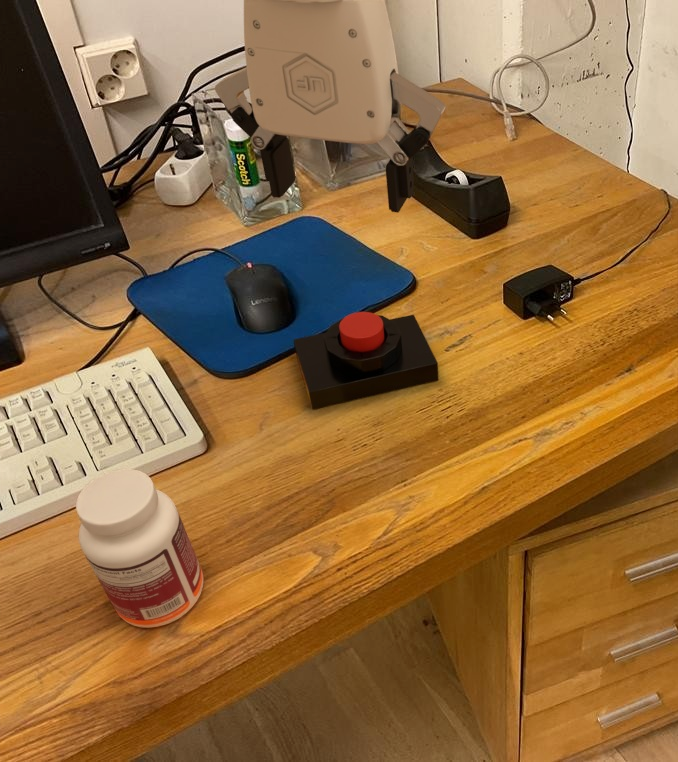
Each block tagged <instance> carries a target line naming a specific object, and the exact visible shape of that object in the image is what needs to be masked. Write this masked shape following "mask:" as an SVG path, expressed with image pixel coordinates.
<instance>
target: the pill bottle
mask: <svg viewBox="0 0 678 762" xmlns="http://www.w3.org/2000/svg"><path fill="white" fill-rule="evenodd" d="M75 510H76V513H77V516H78V518H79V521H80V523H81V524H80V526H79V530H78V542H79V543H78V544H79V546H80V548H81V551H82V552H83V554H84V557H85V558H86V560H87V562H88V563H89V565H90V567H91V569H92V571H93V572H94V574H95V577H96V578H97V580H98V582H99V583H100V586H101V587H102V589H103V590H104V592H105V594H106V596H107V597H108V599H109V601H110V603H111V605H112V607H113V608H114V610H115V612H116V613H117V614H118V616H119V617H120V618H121V619H122V620H123V621H124V622H126V623H127V624H130V625H131V626H134V627H139V628H157V627H161V626H166V625H168V624H171V623H173V622H175V621H177V620H178V619H181V618H182V617H183V616H185V615H186V614H187V613H188V612H189V611H190V610H191V609H192V608H193V606H194V605H195V604H196V603H197V602H198V600H199V598H200V596H201V594H202V591H203V587H204V573H203V569H202V567H201V564H200V562H199V559H198V557H197V555H196V552H195V550H194V547H193V545H192V543H191V539H190V537H189V534H188V533H187V530H186V528H185V525H184V523H183V520H182V518H181V515H180V512H179V511H178V508H177V506H176V504H175V502H174V500H173V499H172V498H171V497H170V496H169V495H168V494H166V493H165V492H163V491H161V490H159V489H157V488H156V486H155V483H154V482H153V480H152V478H151V477H150V476H149V475H148V474H146V473H145V472H144V471H141V470H137V469H133V468H122V469H120V468H119V469H115V470H110V471H106V472H105V473H103V474H100V475H98V476H97V477H95V478H93V479H92V480H90V481H89V482H88V483H87V484H86V485H85V486H84V487H83V488H82V489H81V491H80V492H79V494H78V496H77V498H76V502H75Z"/></svg>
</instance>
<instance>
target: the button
mask: <svg viewBox="0 0 678 762" xmlns="http://www.w3.org/2000/svg"><path fill="white" fill-rule="evenodd" d="M378 315H379V314H376V313H373V312H370V311H357V312H352V313H349V314H348V315H346V316H344V317H345V318H344V317H343V318H344V319H342V318H341V319H342V321H341V322H340V325H339V330H340V336H341V342H342V345H343V346H344V347H345V348H346V349H348V350H350V351H356V352H366V351H370V350H375V349H376V348H378V347H379V346H381V345H382V343H383V341H384V328H383V321H382V319H381V318H380V317H379V316H378Z"/></svg>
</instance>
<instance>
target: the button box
mask: <svg viewBox="0 0 678 762" xmlns="http://www.w3.org/2000/svg"><path fill="white" fill-rule="evenodd" d="M377 315H378V316H379V317H380V318H381V319H382V321H383V328H384V341H383V343H382V345H381V346H379V347H378V348H376V349H375V350H370V351H366V352H356V351H350V350H348V349H346V348H345V347H344V346H343V345H342V342H341V336H340V330H339V325H340V322H341V321H342V319H344V318H345V317H346V316H344V317H343V318H341V319H339V320H338V321H335V323H333V324H331V325H330V326H329V328H328V329H327V331H326V332H322V333H318V334H313V335H308V336H304V337H298V338H295V339H292V342H293V346H294V351H295V352H294V353H295V358H296V360H297V363H298V367H299V371H300V374H301V377H302V380H303V383H304V387H305V390H306V393H307V397H308V400H309V403H310V406H311V410H312V411H313V410H318V409H322V408H327V407H331V406H334V405H339V404H344V403H348V402H353V401H356V400H361V399H365V398H369V397H373V396H377V395H382V394H387V393H391V392H395V391H399V390H403V389H408V388H412V387H415V386H420V385H425V384H428V383H429V384H430V383H433V382H437V381H439V363H438V361H437V359H436V357H435V355H434V353H433V351H432V348H431V347H430V344H429V343H428V341H427V339H426V337H425V334H424V333H423V330H422V329H421V326H420V324H419V322H418V320H417V318H416V317H415V316H416V315H415V314H409V315H404V316H399V317H395V318H390V319H389V318H388V317H386V316H384V315H382V314H380V315H379V314H377Z"/></svg>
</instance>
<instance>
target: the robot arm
mask: <svg viewBox="0 0 678 762" xmlns="http://www.w3.org/2000/svg"><path fill="white" fill-rule="evenodd" d="M243 39H244V40H243V41H244V42H243V43H244V54H245V55H244V56H245V64H246V66H245V67H244V68H241V69H239V70H238V71H236V72H234V73H231V74H230V75H227V76H226V77H224V78H223V79H221V80H220V81H219V82H218V83H216V84H215V86H214V91H215V93H216V95H217V96H218V98H219V99H220V101H221V102H222V104H223V105H224V106H225V108H226V109H227V111H229V112H230V113H231V119H232V121H233V122H234V123H235V125H236V126H238V128H240V129H241V130H242V131H243V132H244V133H245V134H246V135H247V136H249V138H250V142H251V145H252V147H254V148H255V149H257V150H259V151H260V156H261V157H260V158H261V162H262V167H263V173H264V178H265V180H266V182H268V183H269V188H270V193H271V194H270V195H271V197H272V198H277V199H281V197H283V196H284V195H285V194H286V193H287V192H288V190H289V189H290V188H291V187H292V185H293V184H294V183H295V182H296V174H295V168H294V162H293V157H292V156H293V155H292V150H291V143H290V139H289V138H288V137H291V138H292V137H293V138H301V139H302V138H303V139H310V140H319V141H327V142H337V143H346V144H355V145H356V144H358V145H372V144H377V145H378V146H379V147H380V149H381V150H382V151H383V152H384V153H385V154H386V156H387V157H388V158H389V160H388V162H387V163H386V165H385V177H386V190H387V202H388V210H389V211H391V213H397V214H398V213H400V211H401V210H402V209H403V206H404V204H405V203H406V201H407V200H408V199H411V198H412V196H413V195H414V191H415V179H414V178H415V177H414V163H413V162H414V161H413V157H414V156H415V155H416V154H417V153H418V152H419V151H421V149H422V148H424V147H425V146H426V145H427V144H428V143H429V141H430V139H431V138H432V137H433V134H434V132H435V130H436V128H437V127H438V124H439V122H440V121H441V119H442V117H443V114H445V111H446V104H445V102H444V101H443V100H441V99H439V97H437V96H435V95H434V94H431V93H430V92H428V91H427V90H425V89H423V88H421V86H419V85H416V84H415V83H413V82H412V81H410V80H409V79H407V78H406V77H404V76H402V75H400V74H399V68H398V67H399V66H398V61H397V60H398V59H397V53H396V46H395V42H394V36H393V31H392V26H391V22H390V17H389V13H388V9H387V5H386V2H385V0H243ZM247 90H248V91H249V95H250V102H249V101H248V100H247V99H248V98H247V96H246V95H245V91H247ZM402 105H403V106H405V107H407V108H408V109H410V110H412V111H413V112H415V113H416V114H417V116H418V118H419V121H418V123H417V125H416V126H415V127H414V128H413V129H412V130H411V131H410V130H409V129H408V128H407V126H405V125H406V124H404V123H403V122H402V120H400V118H399V117H400V114H401V111H402Z"/></svg>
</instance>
